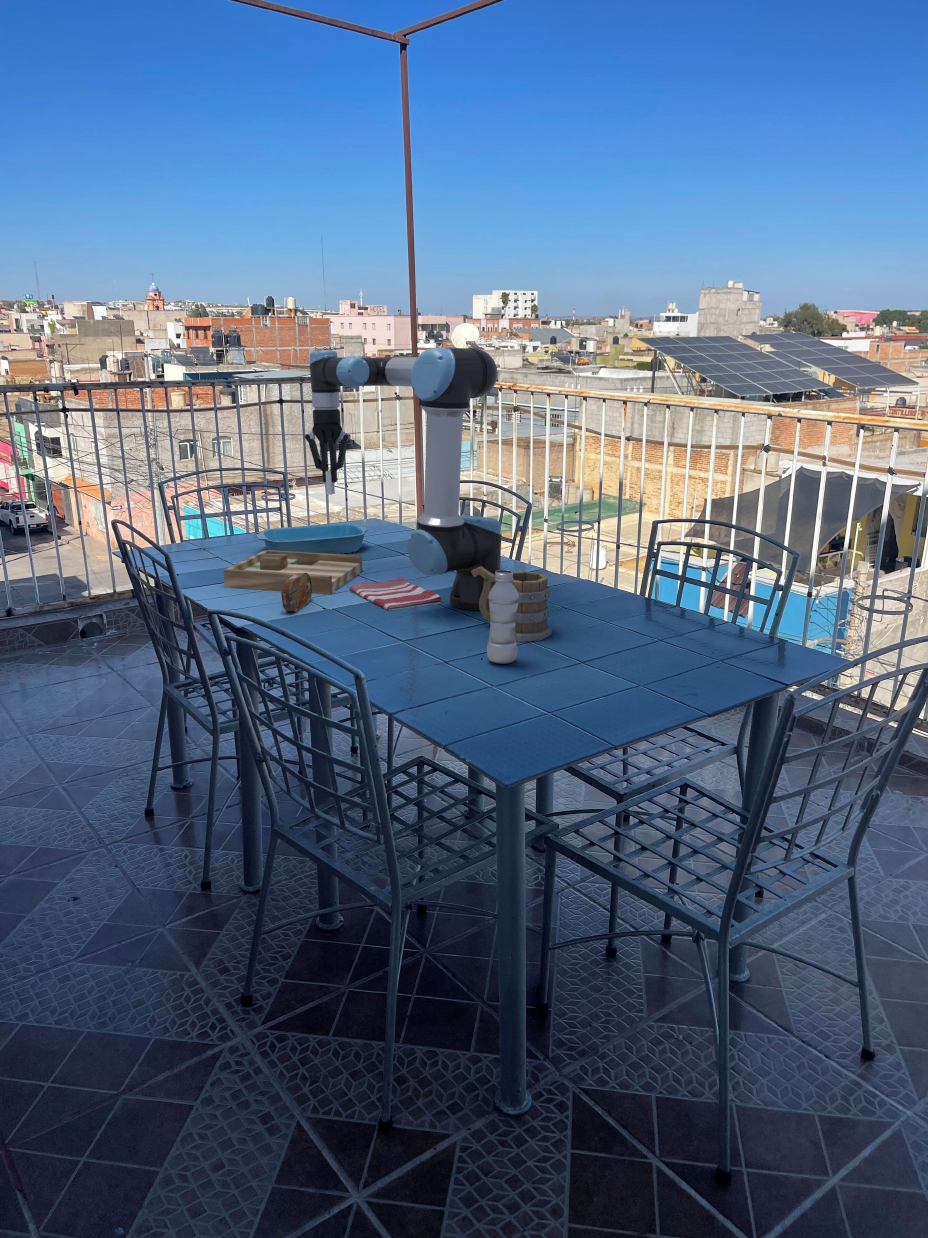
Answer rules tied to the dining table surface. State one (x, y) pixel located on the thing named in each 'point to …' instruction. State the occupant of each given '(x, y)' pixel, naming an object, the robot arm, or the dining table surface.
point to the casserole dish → (315, 538)
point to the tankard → (522, 603)
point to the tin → (296, 592)
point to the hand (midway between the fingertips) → (330, 493)
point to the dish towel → (395, 594)
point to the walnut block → (273, 562)
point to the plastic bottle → (502, 619)
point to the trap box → (295, 571)
